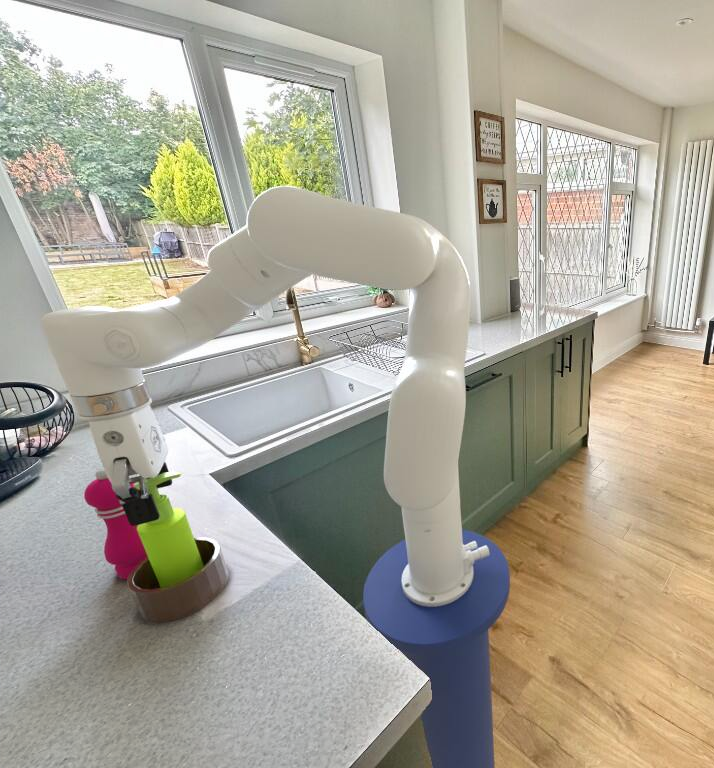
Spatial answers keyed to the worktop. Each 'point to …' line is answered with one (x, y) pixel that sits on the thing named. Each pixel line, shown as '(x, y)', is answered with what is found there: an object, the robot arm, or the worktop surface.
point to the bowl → (179, 586)
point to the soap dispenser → (169, 538)
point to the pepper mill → (115, 526)
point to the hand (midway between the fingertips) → (153, 503)
